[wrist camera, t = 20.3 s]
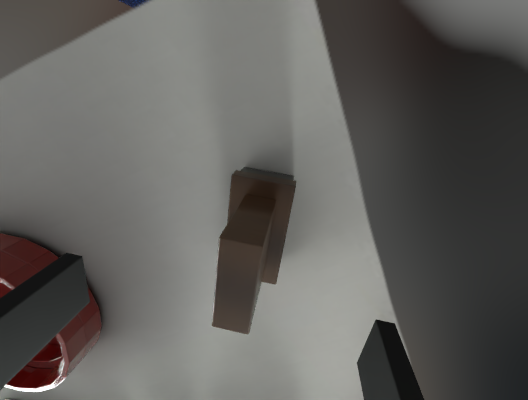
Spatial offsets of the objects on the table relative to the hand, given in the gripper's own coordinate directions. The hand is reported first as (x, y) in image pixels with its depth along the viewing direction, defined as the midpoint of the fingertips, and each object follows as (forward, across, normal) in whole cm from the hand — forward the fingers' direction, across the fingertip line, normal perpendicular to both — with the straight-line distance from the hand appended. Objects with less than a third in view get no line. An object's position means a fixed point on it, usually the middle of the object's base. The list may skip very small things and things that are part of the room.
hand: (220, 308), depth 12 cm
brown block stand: (+11, 0, -1) cm, 11 cm away
